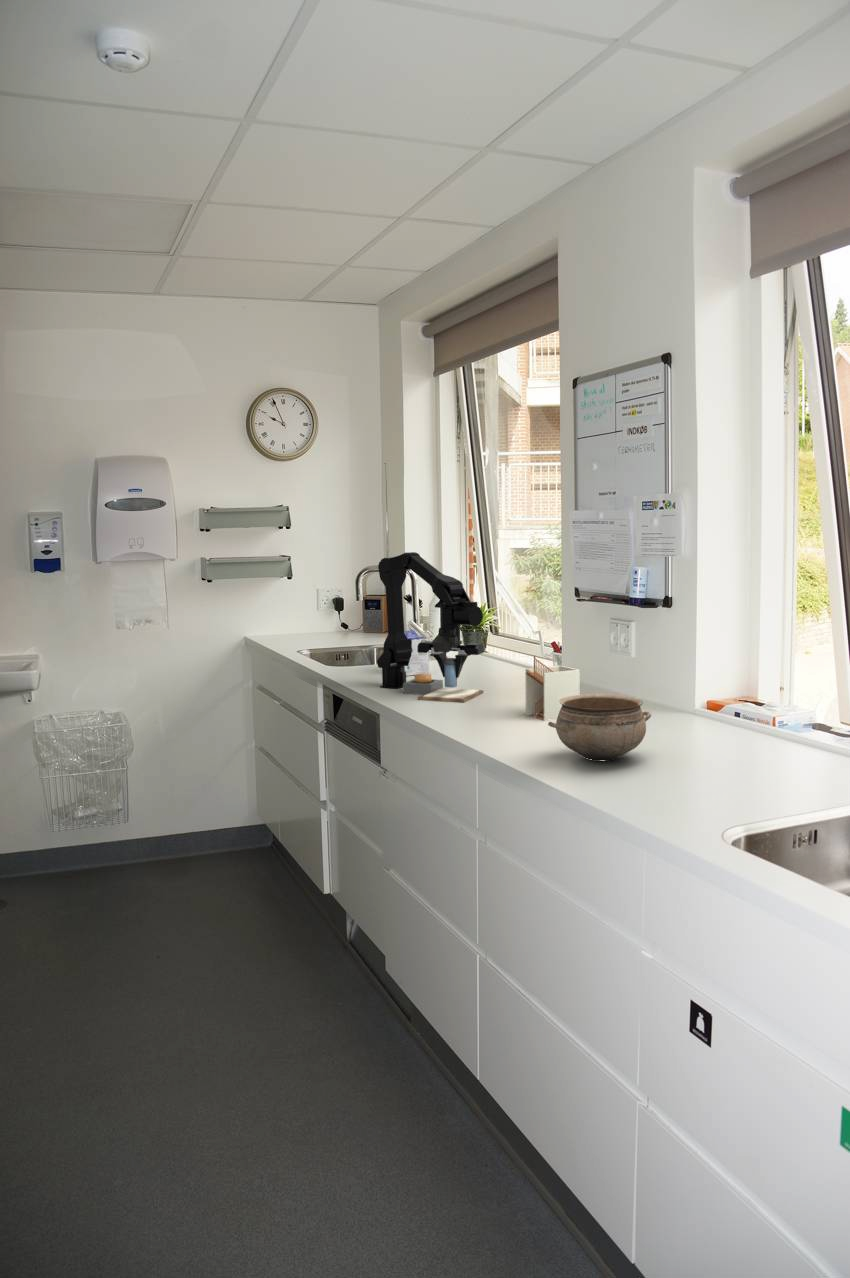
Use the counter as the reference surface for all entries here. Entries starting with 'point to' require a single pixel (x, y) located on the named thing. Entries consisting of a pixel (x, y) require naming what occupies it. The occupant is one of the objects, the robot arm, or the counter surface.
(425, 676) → the button
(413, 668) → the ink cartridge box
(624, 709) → the cooking pot
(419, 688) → the button housing
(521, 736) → the counter surface
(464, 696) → the board
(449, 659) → the blue tumbler
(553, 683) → the model staircase
